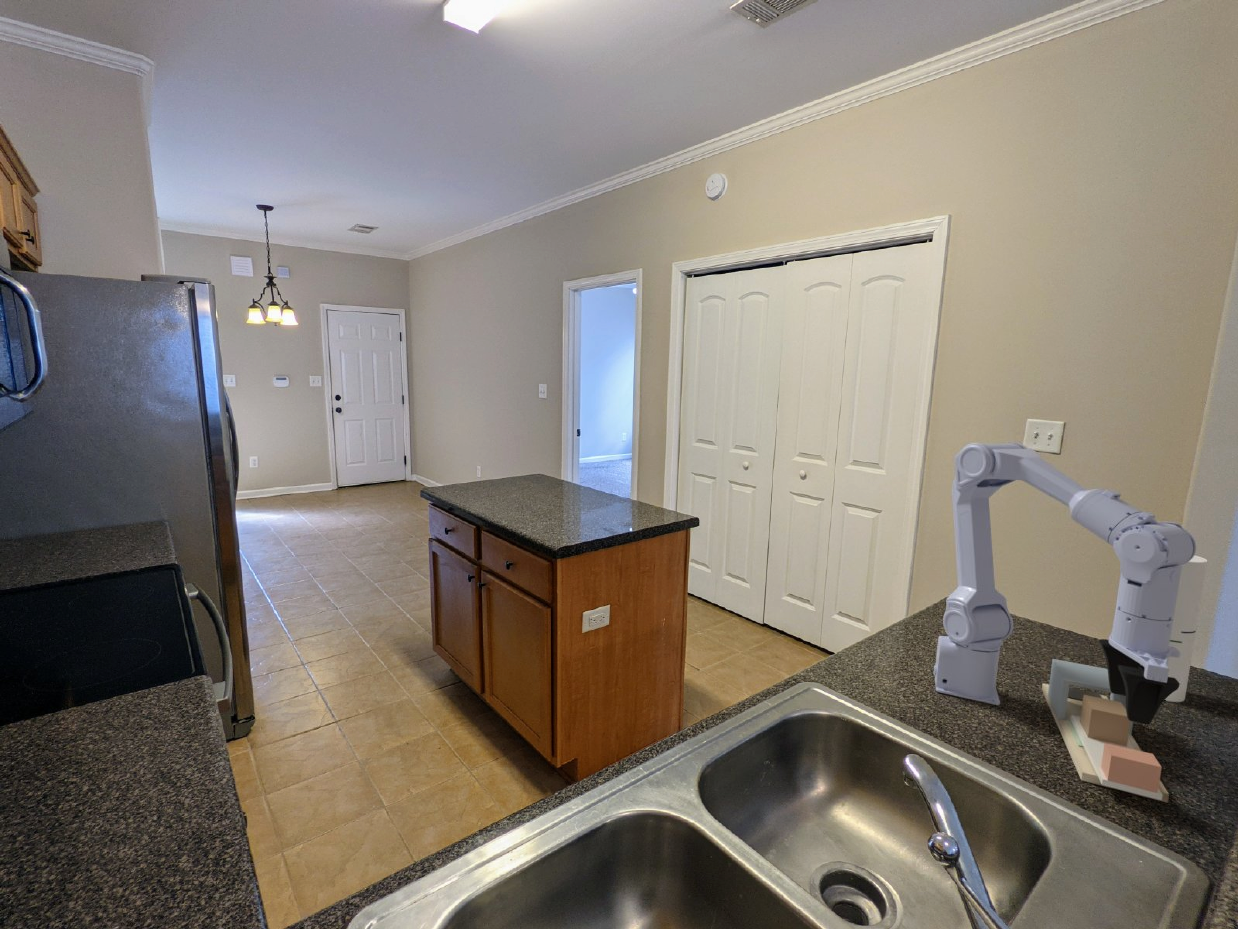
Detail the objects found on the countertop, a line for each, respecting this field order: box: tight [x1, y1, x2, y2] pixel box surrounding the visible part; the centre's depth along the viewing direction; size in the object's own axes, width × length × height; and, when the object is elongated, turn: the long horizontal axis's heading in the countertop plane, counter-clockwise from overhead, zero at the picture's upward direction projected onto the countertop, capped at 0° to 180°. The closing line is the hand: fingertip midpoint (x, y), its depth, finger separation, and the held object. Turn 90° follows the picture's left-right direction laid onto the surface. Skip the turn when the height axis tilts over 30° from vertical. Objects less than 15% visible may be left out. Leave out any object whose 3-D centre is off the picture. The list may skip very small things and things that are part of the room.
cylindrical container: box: [1165, 554, 1208, 703], centre depth 101 cm, size 7×7×25 cm
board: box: [1041, 683, 1170, 803], centre depth 89 cm, size 9×27×1 cm, turn 153°
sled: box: [1070, 695, 1163, 801], centre depth 82 cm, size 6×17×5 cm, turn 153°
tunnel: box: [1048, 658, 1134, 735], centre depth 93 cm, size 9×8×8 cm
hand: (1128, 707), depth 78 cm, fingers open, 7 cm apart
